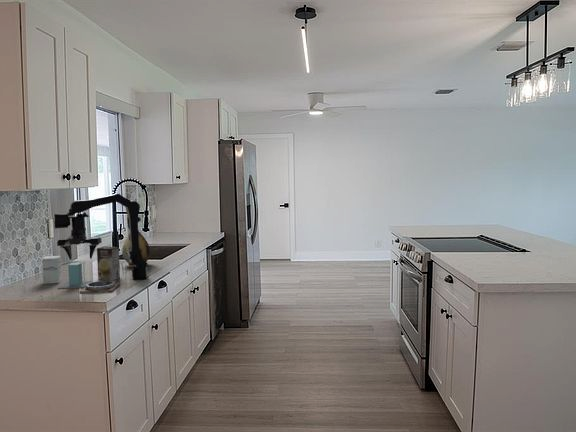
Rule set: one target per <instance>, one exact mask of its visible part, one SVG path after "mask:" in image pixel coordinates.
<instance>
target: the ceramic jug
mask: <svg viewBox="0 0 576 432" xmlns="http://www.w3.org/2000/svg"><path fill="white" fill-rule="evenodd" d="M126 218H127V219H126V220H127V225H128V228H129V218H128V216H127V217H126ZM141 220H142V219H141V217H140V216H138V223H140V222H141ZM128 230H130V228H129V229H128ZM138 235H139V247H140V250H141V253H142V257H143V260H144V261H145V262H147V261H148V260H149V259H150V256H151V248H150V245H149V242H148V241H147V240H146V238H145V237H144V236H143V234H142V233H141V232H140V231H139V229H138ZM130 247H131V244H130V232H129V234H128V235H127V237H126V238H125V240H124V243H123V245H122V251H121V254H122V258H123V260H124V261H125V262H126V263H127V264H128V266H129V267H131V268H133V267H134V265H133V263H132V262H130V261H129V259H128V258H127V256H128V253H127V250H130ZM147 263H148V262H147Z"/></svg>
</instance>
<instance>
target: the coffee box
mask: <svg viewBox="0 0 576 432" xmlns="http://www.w3.org/2000/svg"><path fill="white" fill-rule="evenodd" d="M96 262H97V279H98V280H102V281H115V280H117V279H119V278H120V277H121V276H120V275H121V273H120V271H121V270H120V247H118V246H106V245H105V246H101V247H96Z"/></svg>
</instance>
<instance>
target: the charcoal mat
mask: <svg viewBox="0 0 576 432" xmlns="http://www.w3.org/2000/svg"><path fill="white" fill-rule="evenodd" d="M91 282H94V281H92V280H88V281H87V280H86V281H85V280H82V284H80V285H76V286H69V281H66V282H65V283H63V284H62V285H60V286H59V287H57V289H58V290H65V289H66V290H69V289H83V288H85V287H86V284H88V283H91Z"/></svg>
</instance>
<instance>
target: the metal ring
mask: <svg viewBox="0 0 576 432" xmlns="http://www.w3.org/2000/svg"><path fill="white" fill-rule="evenodd" d="M115 283H116V282H115V281H114V280H97V281H93V282H91V283H88V284H86V290H108V289H111V288H113V287H114V286H115Z"/></svg>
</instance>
